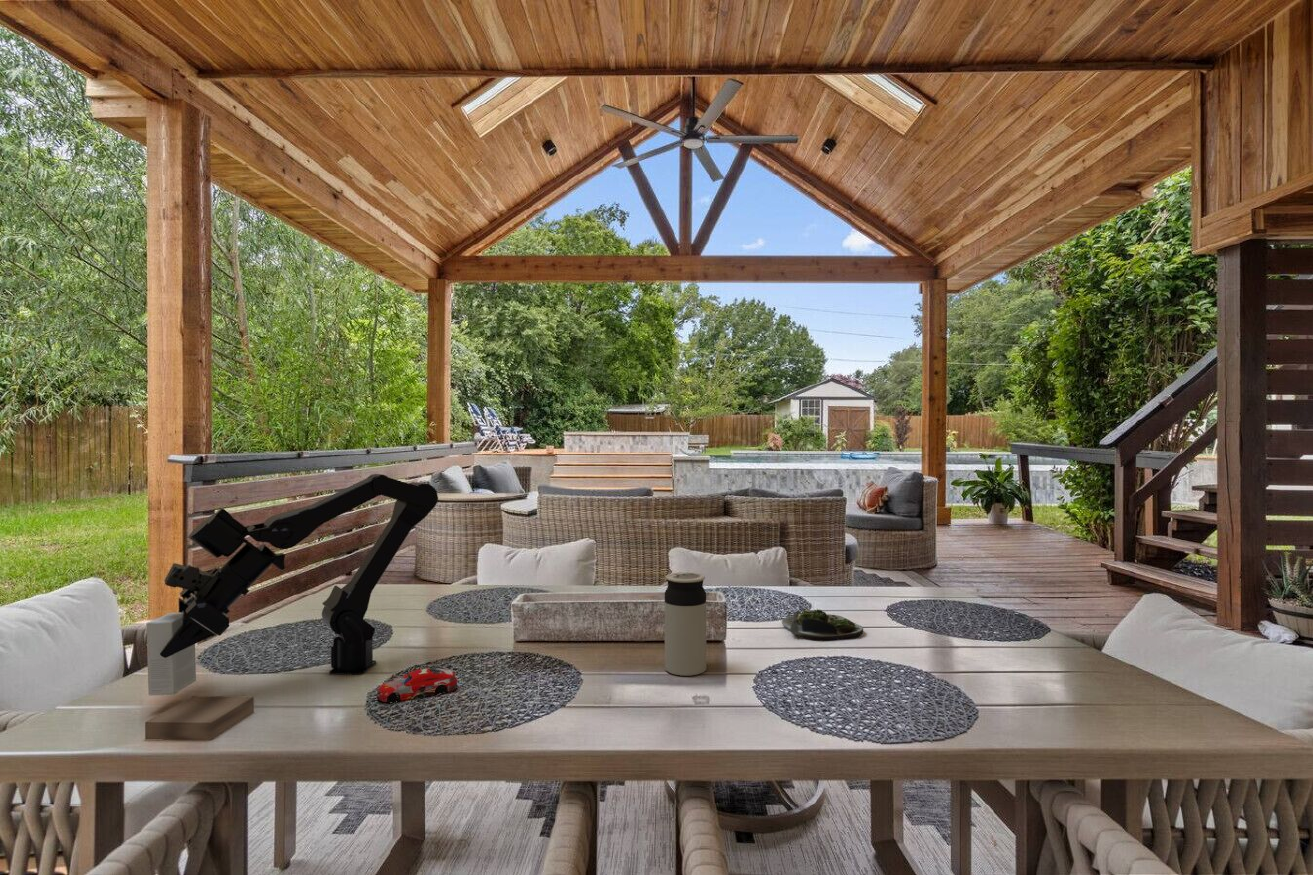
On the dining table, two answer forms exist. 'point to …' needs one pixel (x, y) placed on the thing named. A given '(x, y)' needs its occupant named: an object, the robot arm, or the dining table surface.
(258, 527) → the robot arm
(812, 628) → the salad plate
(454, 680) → the race car
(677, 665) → the travel mug
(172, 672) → the skincare box
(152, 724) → the walnut block
